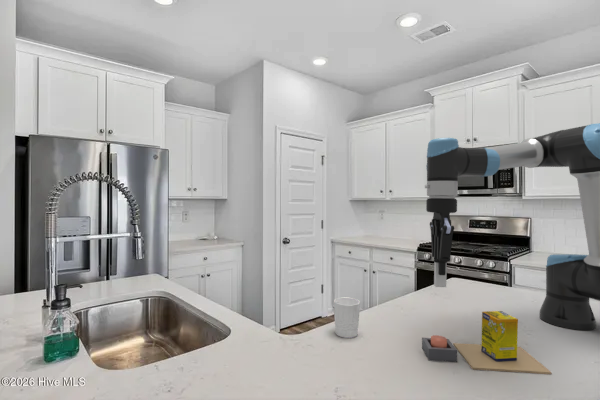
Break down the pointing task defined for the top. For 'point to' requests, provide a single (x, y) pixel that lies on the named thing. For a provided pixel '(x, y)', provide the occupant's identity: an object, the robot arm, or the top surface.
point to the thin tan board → (484, 362)
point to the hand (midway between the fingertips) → (440, 286)
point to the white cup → (346, 316)
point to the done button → (438, 341)
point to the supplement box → (499, 336)
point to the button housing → (439, 351)
